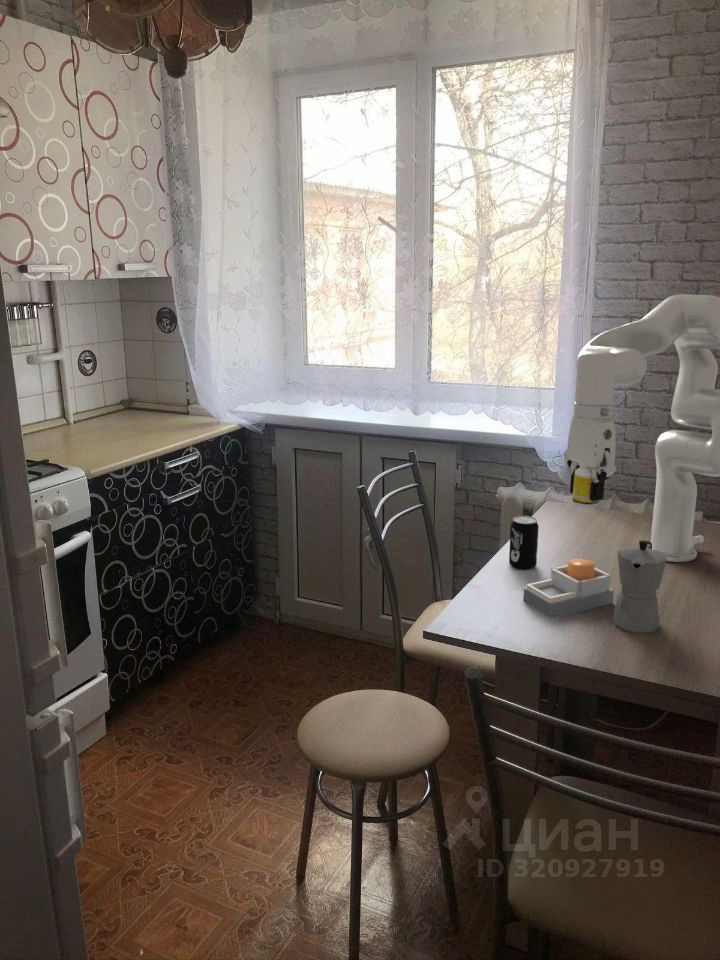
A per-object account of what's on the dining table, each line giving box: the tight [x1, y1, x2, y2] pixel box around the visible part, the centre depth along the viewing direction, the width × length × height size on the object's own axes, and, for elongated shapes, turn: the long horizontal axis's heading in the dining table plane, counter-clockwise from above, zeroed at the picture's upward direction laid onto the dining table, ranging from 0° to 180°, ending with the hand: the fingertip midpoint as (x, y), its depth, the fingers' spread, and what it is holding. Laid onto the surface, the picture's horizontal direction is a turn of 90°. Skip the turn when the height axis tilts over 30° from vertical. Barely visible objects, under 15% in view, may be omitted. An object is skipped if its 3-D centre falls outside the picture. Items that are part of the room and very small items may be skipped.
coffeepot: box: [612, 540, 668, 634], centre depth 158 cm, size 15×9×18 cm, turn 151°
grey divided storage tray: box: [522, 564, 615, 619], centre depth 169 cm, size 17×10×6 cm, turn 115°
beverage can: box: [508, 515, 540, 571], centre depth 189 cm, size 7×7×12 cm
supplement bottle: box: [572, 464, 601, 508], centre depth 164 cm, size 5×5×10 cm
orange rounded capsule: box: [567, 558, 596, 590], centre depth 170 cm, size 6×6×5 cm
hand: (586, 495), depth 165 cm, fingers closed on supplement bottle, 5 cm apart
